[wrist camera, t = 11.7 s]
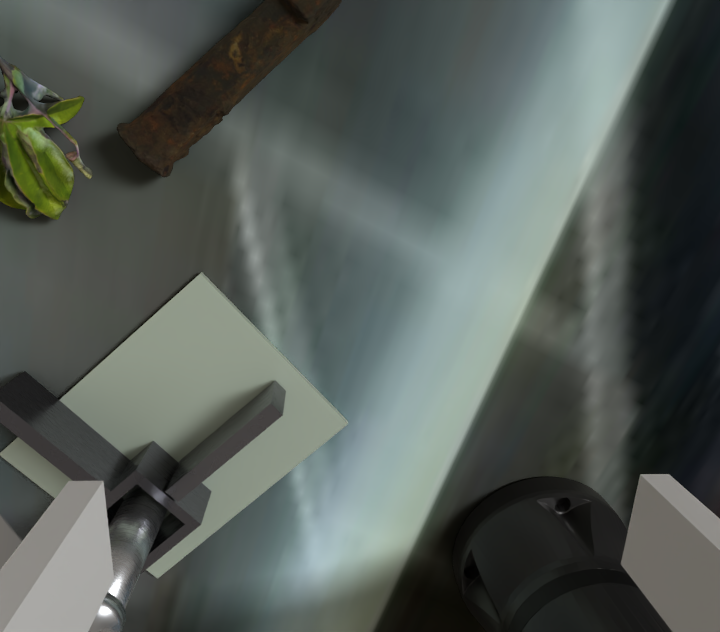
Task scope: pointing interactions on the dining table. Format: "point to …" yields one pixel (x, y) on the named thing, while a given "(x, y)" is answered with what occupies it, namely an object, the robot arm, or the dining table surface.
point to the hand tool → (221, 80)
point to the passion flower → (35, 148)
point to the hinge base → (99, 459)
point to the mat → (194, 404)
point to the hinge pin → (128, 554)
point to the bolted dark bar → (227, 440)
